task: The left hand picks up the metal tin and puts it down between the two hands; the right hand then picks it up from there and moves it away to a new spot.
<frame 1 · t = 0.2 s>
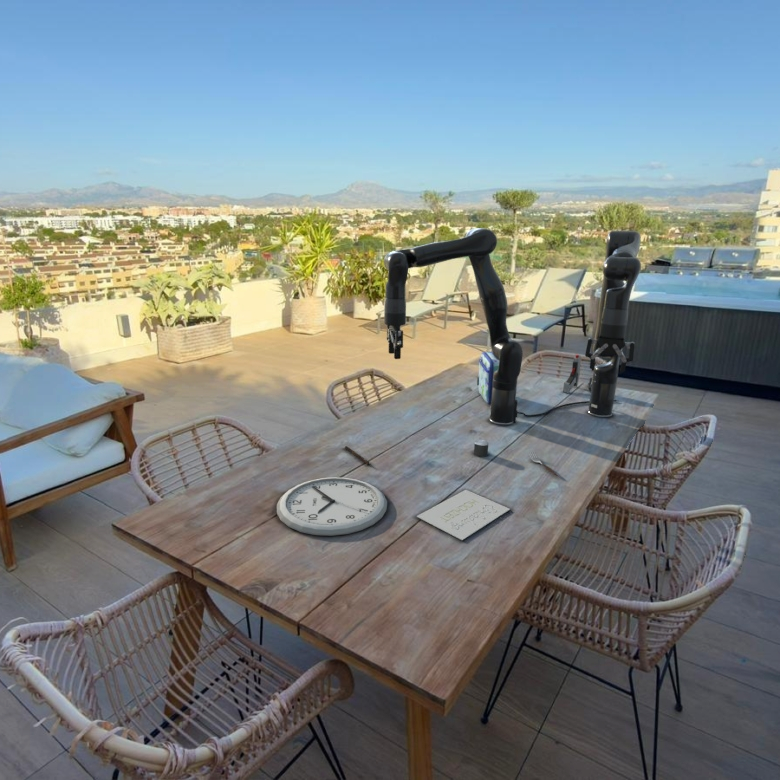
left hand: (394, 356, 187), 29 cm above the table, tool pointing down, fingers open, 8 cm apart
right hand: (606, 371, 170), 29 cm above the table, tool pointing down, fingers open, 8 cm apart
lunch box: (491, 399, 234), on the table
wall clock: (332, 505, 143), on the table
invitation card: (463, 513, 140), on the table
toy gun: (570, 389, 250), on the table
dark brown stick: (356, 456, 173), on the table
fork: (543, 467, 168), on the table
tin: (480, 453, 177), on the table
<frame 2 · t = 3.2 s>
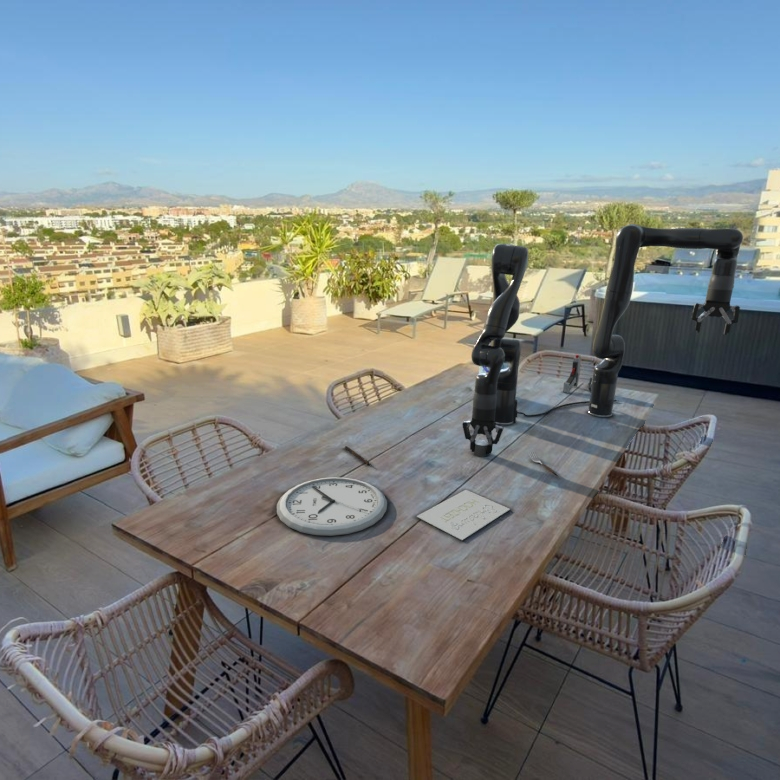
left hand: (480, 452, 177), 1 cm above the table, tool pointing down, fingers closed on tin, 4 cm apart
right hand: (711, 333, 189), 38 cm above the table, tool pointing down, fingers open, 8 cm apart
tin: (480, 453, 177), on the table, touching left hand
everything else where it was.
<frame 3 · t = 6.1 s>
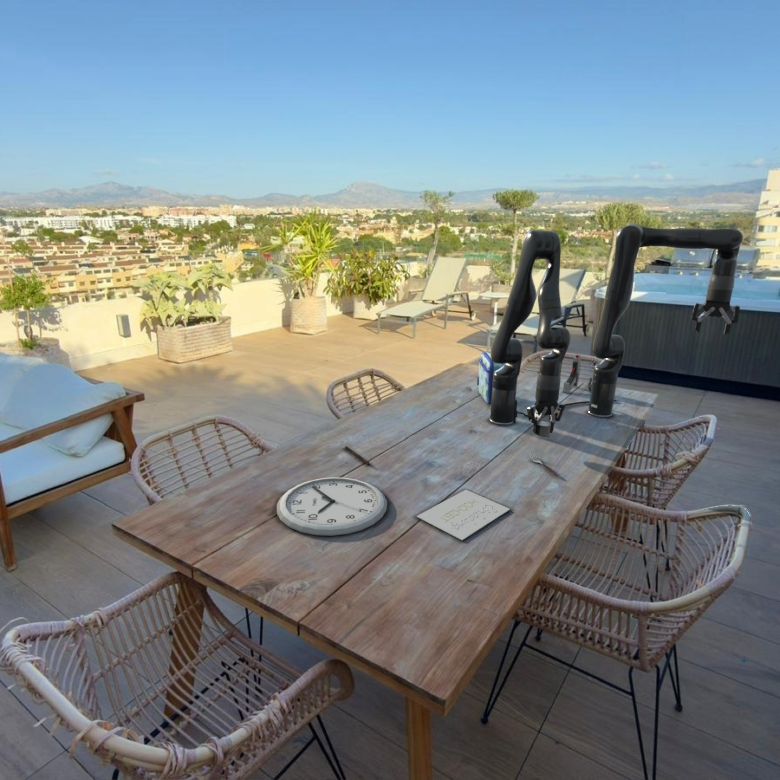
left hand: (542, 433, 181), 6 cm above the table, tool pointing down, fingers closed on tin, 4 cm apart
right hand: (711, 333, 189), 38 cm above the table, tool pointing down, fingers open, 8 cm apart
tin: (542, 434, 181), point 5 cm above the table, touching left hand
everything else where it was.
when the left hand's fingers open (2 cm above the table, at t = 8.9 s): tin drops 1 cm, on the table.
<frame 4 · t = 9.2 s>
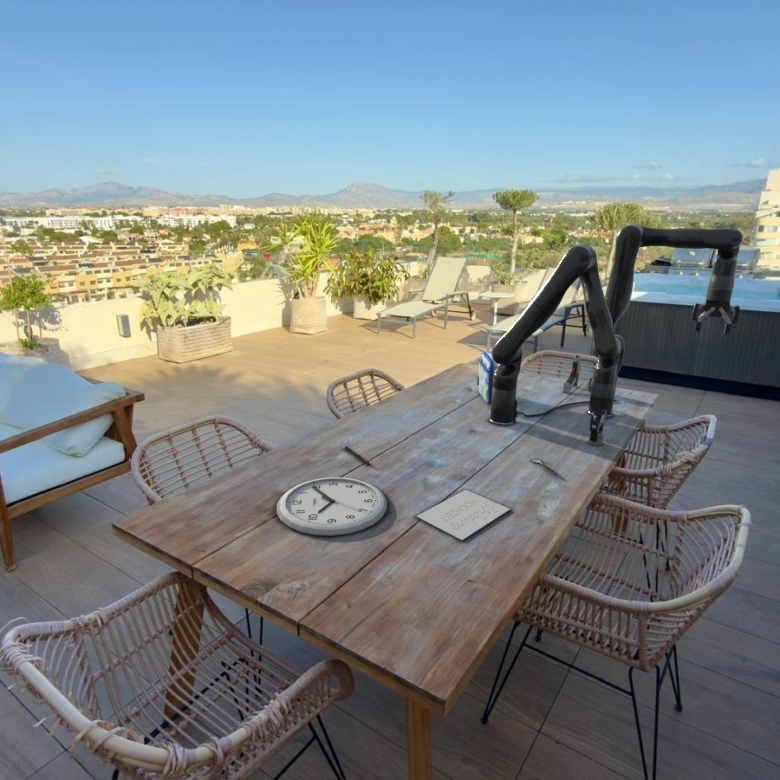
left hand: (595, 437, 187), 2 cm above the table, tool pointing down, fingers open, 7 cm apart
right hand: (711, 333, 189), 38 cm above the table, tool pointing down, fingers open, 8 cm apart
tin: (595, 443, 188), on the table
everything else where it was.
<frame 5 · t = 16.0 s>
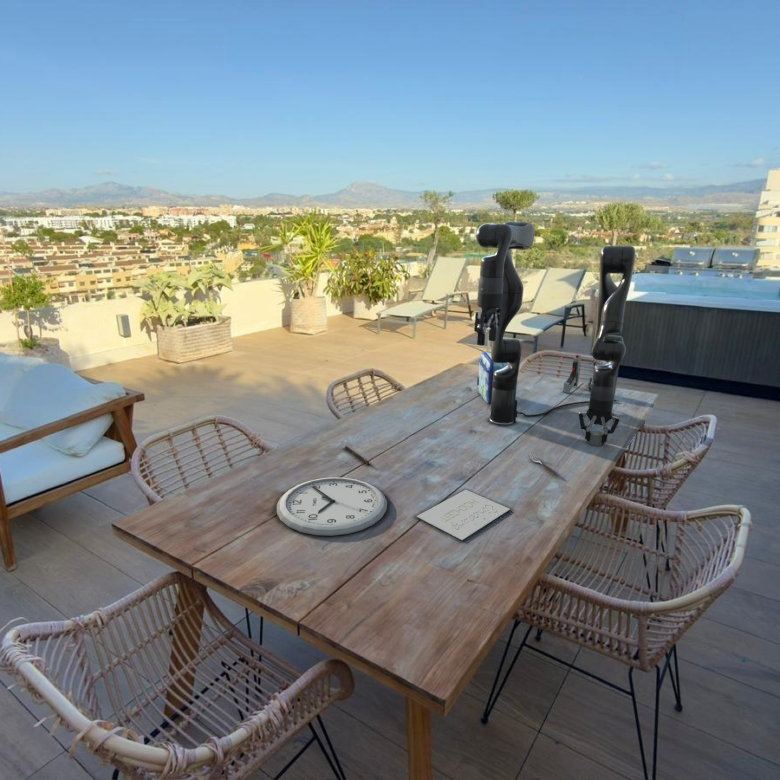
left hand: (486, 342, 166), 38 cm above the table, tool pointing down, fingers open, 8 cm apart
right hand: (595, 441, 187), 1 cm above the table, tool pointing down, fingers closed on tin, 4 cm apart
tin: (595, 443, 188), on the table, touching right hand
everything else where it was.
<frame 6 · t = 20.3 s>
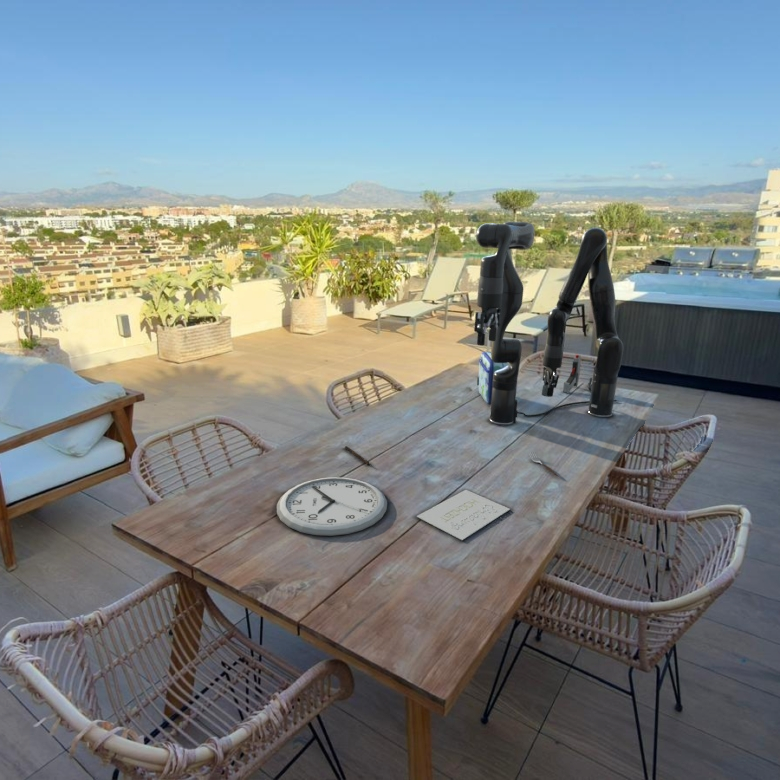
left hand: (486, 342, 166), 38 cm above the table, tool pointing down, fingers open, 8 cm apart
right hand: (547, 393, 223), 6 cm above the table, tool pointing down, fingers closed on tin, 4 cm apart
tin: (547, 395, 223), point 5 cm above the table, touching right hand
everything else where it was.
when the right hand's fingers open (2 cm above the table, at t = 24.6 s): tin drops 1 cm, on the table.
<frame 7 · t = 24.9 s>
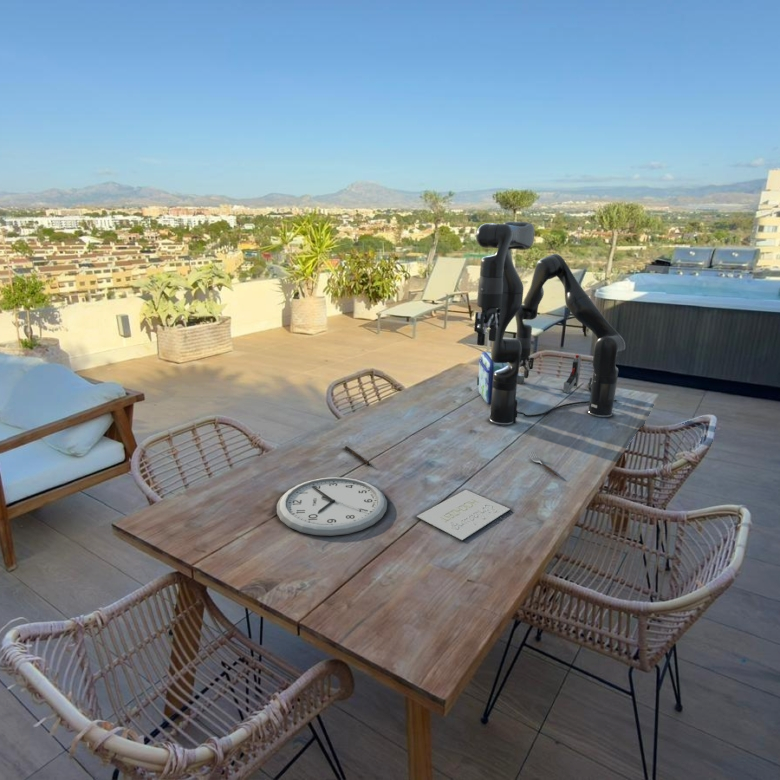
left hand: (486, 342, 166), 38 cm above the table, tool pointing down, fingers open, 8 cm apart
right hand: (519, 378, 259), 2 cm above the table, tool pointing down, fingers open, 7 cm apart
tin: (519, 382, 260), on the table
everything else where it was.
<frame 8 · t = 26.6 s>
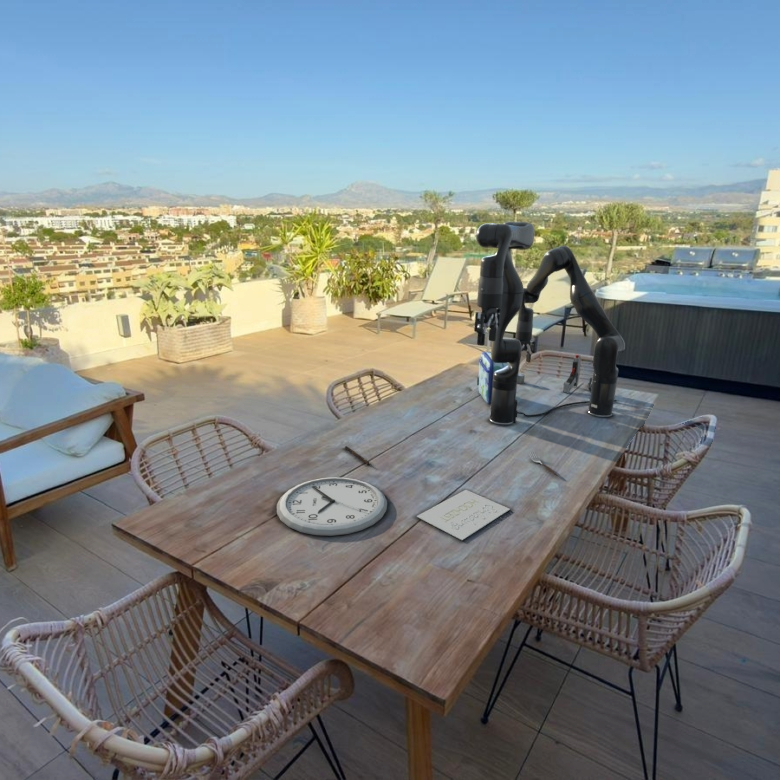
left hand: (486, 342, 166), 38 cm above the table, tool pointing down, fingers open, 8 cm apart
right hand: (521, 362, 257), 10 cm above the table, tool pointing down, fingers open, 8 cm apart
nothing on the table moved.
at the end: tin inside the target area (0.1 cm from its centre), on the table; tin tilted 0°; the two hands never held the tin at the same time; the left hand is holding nothing; the right hand is holding nothing; tin at rest at the end (0.0 cm/s) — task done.
